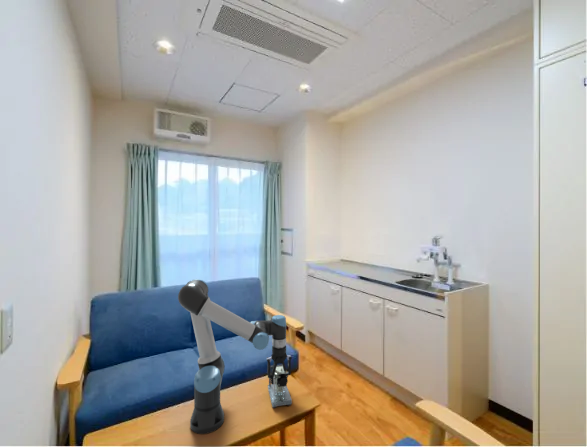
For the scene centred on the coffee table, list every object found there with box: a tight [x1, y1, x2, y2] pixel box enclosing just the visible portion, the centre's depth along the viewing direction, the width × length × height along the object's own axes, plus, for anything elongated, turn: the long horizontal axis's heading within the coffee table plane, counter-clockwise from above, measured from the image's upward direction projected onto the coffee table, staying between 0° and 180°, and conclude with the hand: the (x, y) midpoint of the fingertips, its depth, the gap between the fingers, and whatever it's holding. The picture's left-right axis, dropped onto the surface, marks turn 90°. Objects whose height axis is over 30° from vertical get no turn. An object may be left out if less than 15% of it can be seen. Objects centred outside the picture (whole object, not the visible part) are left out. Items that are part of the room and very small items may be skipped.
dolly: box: [267, 363, 293, 409], centre depth 147 cm, size 10×16×14 cm, turn 13°
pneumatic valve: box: [274, 366, 289, 393], centre depth 146 cm, size 6×12×12 cm, turn 20°
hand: (279, 388), depth 147 cm, fingers closed on pneumatic valve, 5 cm apart
